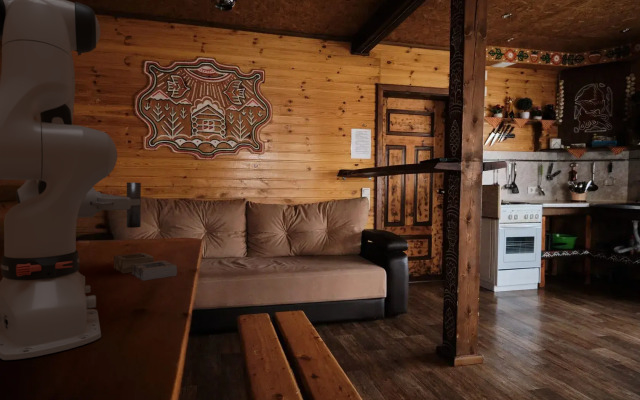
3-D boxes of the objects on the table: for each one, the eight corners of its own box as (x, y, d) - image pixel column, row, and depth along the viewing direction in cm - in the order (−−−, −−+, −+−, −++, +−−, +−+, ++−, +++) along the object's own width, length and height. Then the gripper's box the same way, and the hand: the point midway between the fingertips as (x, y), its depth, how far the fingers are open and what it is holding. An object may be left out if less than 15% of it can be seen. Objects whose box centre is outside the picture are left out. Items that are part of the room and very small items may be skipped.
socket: (176, 275, 115) (176, 265, 115) (143, 280, 108) (143, 270, 108) (164, 269, 122) (164, 260, 122) (131, 274, 115) (131, 264, 115)
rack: (153, 269, 122) (153, 256, 122) (122, 273, 116) (122, 260, 116) (143, 264, 129) (143, 252, 129) (114, 268, 123) (113, 255, 122)
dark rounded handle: (142, 227, 122) (142, 182, 121) (128, 227, 119) (129, 182, 118) (138, 225, 125) (138, 182, 124) (124, 226, 122) (124, 182, 121)
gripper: (96, 192, 105) (148, 192, 114) (78, 190, 120) (126, 190, 129) (96, 215, 105) (148, 214, 115) (78, 210, 120) (126, 209, 130)
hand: (136, 201), depth 122 cm, fingers closed on dark rounded handle, 4 cm apart
